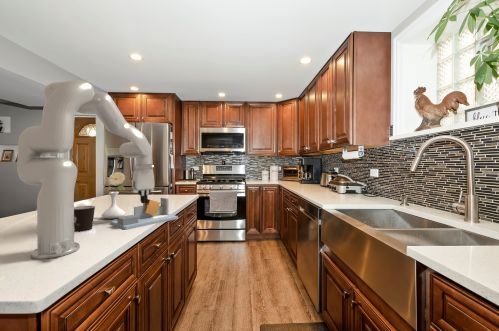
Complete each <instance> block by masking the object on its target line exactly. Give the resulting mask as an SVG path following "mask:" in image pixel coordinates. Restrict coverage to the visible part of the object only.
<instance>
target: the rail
mask: <svg viewBox="0 0 499 331" xmlns="http://www.w3.org/2000/svg"><path fill="white" fill-rule="evenodd" d="M146 207H147V205H144V206H143V205H139V206H134V207H133V214H130V215H124V216H122V217H117V218H116V220H111V222H110V223H111V225H113V226H115V227H118V228H121V229H124V230H126V231H127V230H131V229H136V228H141V227H145V226H150V225H154V224H158V223H160V224H161V223H164V222H168V221H173V220H178V219H179V216H177V215H174V214H170V213H169V198H166V197H160V205H159V208H158V210H157V213H156V216H155V215H151V214H147V213H144V212H145V209H146Z"/></svg>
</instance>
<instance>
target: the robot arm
mask: <svg viewBox="0 0 499 331" xmlns="http://www.w3.org/2000/svg"><path fill="white" fill-rule="evenodd" d="M43 90H44V91H43V94H44V97H45V99H46V100H45V103H44V105H43V110H42V116H41V123H40V125H33V126H30V127H29V126H28V127H27V128H25V129H23V131H22V132H21V133H20V136H19V137H18V144H17V160H16V161H17V163H16V169H17V170H16V171H17V176H18V177H19V179H20V181H22V182H23V183H24V184H26V185H30V186H39V187H40V186H41V188H40V190H39V192H38V195H37V198H36V214H37V215H36V216H37V217H36V223H37V224H36V225H37V226H36V229H37V230H36V231H37V233H36V236H37V238H36V242H37V244H36V246H37V247H36V248H35V249H34V250H32V251H31V252H30V257H31V258H32V259H39V260H40V259H42V260H43V259H46V260H47V259H53V258H58V257H62V256H67V255H70V254H72V253H75V252H76V251H78V250H79V249H80V247H81V246H80V245H81V244H80V243H78V242H75V229H74V207H75V201H74V200H75V187H76V182H77V177H78V168H77V166H76V164H75V163H74V162H73V161H72V160H70V159H68V158H66V157H60V156H59V157H56V156H54V157H53V156H52V157H51V154H65V153H68V152H70V151H71V150H72V149H73V146H74V137H75V136H74V135H75V119H76V114H77V113H80V114H85V115H86V114H87V115H90V114H95V115H96V116H97V118H98V119H99V120H100V122H101V123H102V125H103V126H104V127H105V129H106V131H108V132H109V133H112V134H114V135H116V136H119V137H122V138H125V139H127V140H128V141H130V142H124V143H122V144H121V145H120V146H119V148H118V149H119V153H120V155H121V156H122V157H123V158H128V159H135V170H133V174H132V181H131V182H132V183H131V189H132V193H136V194H138V195H139V196H140V199H139V200H140V203H141V204H142V205H143V204H144V203H147V201H148V198H149V197H148V196H149V195H150V193H151V192H154V191H155V186H156V185H155V174H154V170H153V168H154V167H155V165H153V163H152V160H153V159H152V158H153V156H152V145H151V144H150V143H149V140H148V139H147V137H146V136H145V134H144V133H143V132H142V131H140V130H139V129H138V128H137V127H135V125H132V124H130V123H129V122H128V121H127V120H126V119H125V117H124V115H123V114H122V112H121V111H120V109H119V107H118V106H117V104H116V103H115V100H113V98H112V96H111V95H109V94H108V93H106V92H104V91H95V90H94V87H93V85H92V84H91V83H90V82H88V81H86V80H81V79H80V80H79V79H77V80H66V81H58V82H51V83H49V84H48V85H47V84H46V86H45V87H44V89H43Z"/></svg>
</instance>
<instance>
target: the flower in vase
mask: <svg viewBox="0 0 499 331" xmlns="http://www.w3.org/2000/svg"><path fill="white" fill-rule="evenodd" d="M125 179H126V176H125V174H124V173H122V172H121V171H117V172H116V171H115V172H114V173H112V174H111V175H109V177H108V179H107V180H108V184H110V185H112V186H117V188H114V187H111V186H109V185H108V187H109V188H110V189H113V190H115V191H112V192H110V191H109V192H108V194H109V196H110V198H111V199H110V200H111V201H110V202H111V204H110V206H109V207H108V208H107V209H106V210H104V212H103V213H101V217H102V219H103V218H104V219H111V220H112V219H117V217H122V216H126V211H124V209H122V208H121V207H119V206H118V205H117V198H118V195H119V193H120V192H119V191H123V190H124V191H125V190H126V188H125V187H124V186H123V185H122V183H123V182H124V181H125ZM120 184H121V185H120ZM117 190H119V191H117Z"/></svg>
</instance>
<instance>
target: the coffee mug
mask: <svg viewBox="0 0 499 331" xmlns="http://www.w3.org/2000/svg"><path fill="white" fill-rule="evenodd" d="M95 210H96V205H79V206H74V233H75V232H77V233H81V232H88V231H91V230H92V229H93V226H94V217H95Z"/></svg>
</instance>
